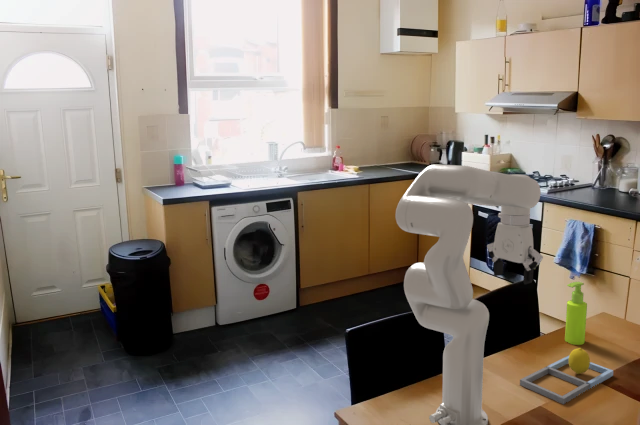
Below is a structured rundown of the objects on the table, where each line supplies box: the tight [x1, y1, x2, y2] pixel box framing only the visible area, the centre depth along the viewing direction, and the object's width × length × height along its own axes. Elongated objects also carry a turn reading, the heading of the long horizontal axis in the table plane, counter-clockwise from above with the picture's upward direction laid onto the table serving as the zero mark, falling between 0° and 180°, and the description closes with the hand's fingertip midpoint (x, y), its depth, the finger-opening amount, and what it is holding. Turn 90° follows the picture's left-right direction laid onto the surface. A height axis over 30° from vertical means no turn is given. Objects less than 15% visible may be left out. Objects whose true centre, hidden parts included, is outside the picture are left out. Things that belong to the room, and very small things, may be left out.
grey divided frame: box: [519, 355, 614, 405], centre depth 156 cm, size 25×13×2 cm, turn 126°
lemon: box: [568, 347, 591, 375], centre depth 159 cm, size 6×6×8 cm
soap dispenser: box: [564, 281, 588, 346], centre depth 179 cm, size 6×7×20 cm
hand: (512, 279), depth 157 cm, fingers open, 9 cm apart
